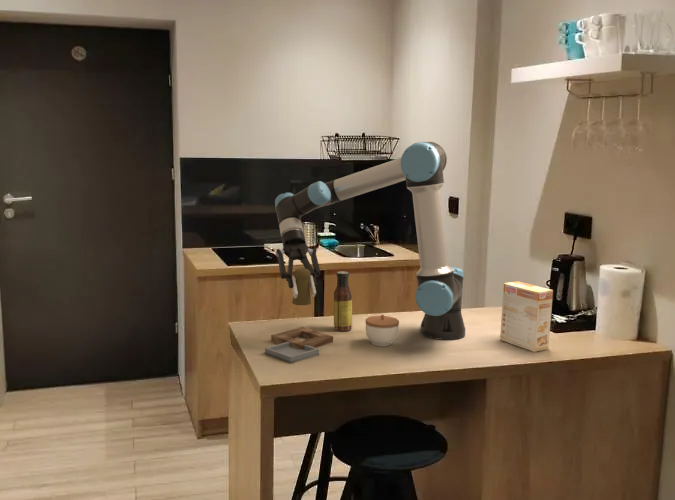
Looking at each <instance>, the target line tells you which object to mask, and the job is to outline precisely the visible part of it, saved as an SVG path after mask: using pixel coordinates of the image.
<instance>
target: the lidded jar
mask: <svg viewBox="0 0 675 500" xmlns="http://www.w3.org/2000/svg"><path fill="white" fill-rule="evenodd" d="M399 325H400V320H399V319H398V318H396V317H393V316H388V315H384V314H380V315H373V316H369V317H366V319H365V332H366V336H367V338H368V340H369V341H370V342H371V343H372V345H374V346H377V347H387V346H391V344H392V343H393V342H394V341H395V340H396V338H397V336H398V333H399V327H400V326H399Z"/></svg>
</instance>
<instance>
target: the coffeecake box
mask: <svg viewBox="0 0 675 500" xmlns="http://www.w3.org/2000/svg"><path fill="white" fill-rule="evenodd" d="M502 293H503V294H502V306H501V307H502V309H501V310H502V311H501V322H500V325H501V326H500V334H499V341H503V342H505V343H509V344H511V345H514V346H516V347H519V348H522V349H525V350H528V351H530V352H533V353H537V352H541V351H546V350H549V346H550V345H549V343H550V332H551V323H552V322H551V321H552V309H553V308H552V307H553V296H554V290H553V289H550V288H546V287H541V286H538V285H535V284H530V283H526V282H522V281H511V282H504V283H503V292H502Z"/></svg>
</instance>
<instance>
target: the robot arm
mask: <svg viewBox="0 0 675 500" xmlns="http://www.w3.org/2000/svg"><path fill="white" fill-rule="evenodd" d="M447 161H448V158H447V153H446V152H445V149H444V148H443V146H441V145H440V144H438V143H437V142H433V141H419V142H414V143H412V144H411V145H409V146H408V147H406V149H405V150H404V151H403V153H402V154H401V157H398V158H395V159H392V160H390V161H387V162H384V163H381V164H378V165H374V166H372V167H368V168H367V169H363V170H361V171H360V170H359V171H357V172H354V173H351V174H348V175H346V176H343V177H340V178H337V179H334V180H331V181H327V182H324V181H321V180H319V181H316V182H313V183H311V184H309V186H307V187H305V188H304V189H302V190H301V191H299V192H297V193H296V194H293V193H292V192H284V193H280V194H279V195H277V197H276V198H275V199H274V200H275V201H274V204H275V205H274V206H275V213H276V216H277V222H278V227H279V232H280V237H281V243H282V249H280V248H277V249H276V251H275V254H274V255H275V258H276V259H277V263H278V266H279V267H278V269H279V275H280V278H281V279H282V280H284V279H285V280H286V282H287V285H288V288H289V289H291V290H292V297H293V296H294V298H297V295H298V291H297V286H296V279H295V276H294V275H293V267H294V261H300V263H301V264H302V266H304V269H308V270H309V271H310V273H311V275H310V278H309V287H310V296H311V298H315V297H316V295H317V290H316V289H317V285H318V282H317V278H319V276H320V275H321V269H320V264H319V261H318V258H317V257H318V256H317V251H318V250H317V248H316V247H313V248H309V246H308V245H307V242H306V238H305V233H304V228H303V223H302V217H303V216H305V215H307V214H309V213H310V212H312V211H315V210H317V209H319V208H322V207H325V206H330V205H334V204H335V203H340V202H342V201H344V200H349V199H351V198H354V197H356V196H361V195H364V194H366V193H369V192H372V191H376V190H378V189H382V188H386V187H388V186H391V185H395V184H398V183H401V182H403V181H405V184H406V189H407V190H409V192H411V194H412V203H413V211H414V213H413V214H414V222H415V229H416V230H415V231H416V238H417V247H418V249H417V251H418V257H419V266H420V268H419V269H418V270H417V271H416V272H415V273H416V274H415V275H416V276H415V277H416V285H417V287H416V288H417V289H416V290H415V296H414V298H415V303H416V305H417V307H418V308H419V310H420V311H422V312H423V313H424V314H423V318H422V321H421V324H420V325H419V327H420V328H419V332H420V334H421V335H423V336H425V337H427V338H431V339H435V340H450V341H451V340H459V339H462V338H464V337H465V336H466V327H465V323H464V317H463V313H462V304H463V303H462V302H463V288H464V278H465V277H464V270H463V269H462V268H460V267H454V266H449V264H448V257H447V256H448V255H447V248H446V247H447V245H446V238H445V229H444V219H443V208H442V198H441V188H442V187H443V186H444V184H445V181H444V180H445V179H444V170H445V168H446V166H447ZM307 253H308V255H309V257H310V260H311V262H310V260H309V259H308V256H307ZM284 255H285V256H286V257H287V258H288V263H287V271H286V266H285V260H284Z"/></svg>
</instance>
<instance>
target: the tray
mask: <svg viewBox="0 0 675 500" xmlns="http://www.w3.org/2000/svg"><path fill="white" fill-rule="evenodd" d="M290 343H291V342H285V343H282V344H278V343H277V344H275V345H271V346H268V347H264V354H265V355H267V356H270V357H272V358H276V359H278V360H281V361H284V362H287V363H289V364H294V363H297V362H300V361H303V360H307V359H309V358H310V359H311V358H313V357H316V356H320V349H319V347H311V346H308V345H304V349H302V350H301V349H298V348H295V347H292V346H290Z"/></svg>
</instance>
